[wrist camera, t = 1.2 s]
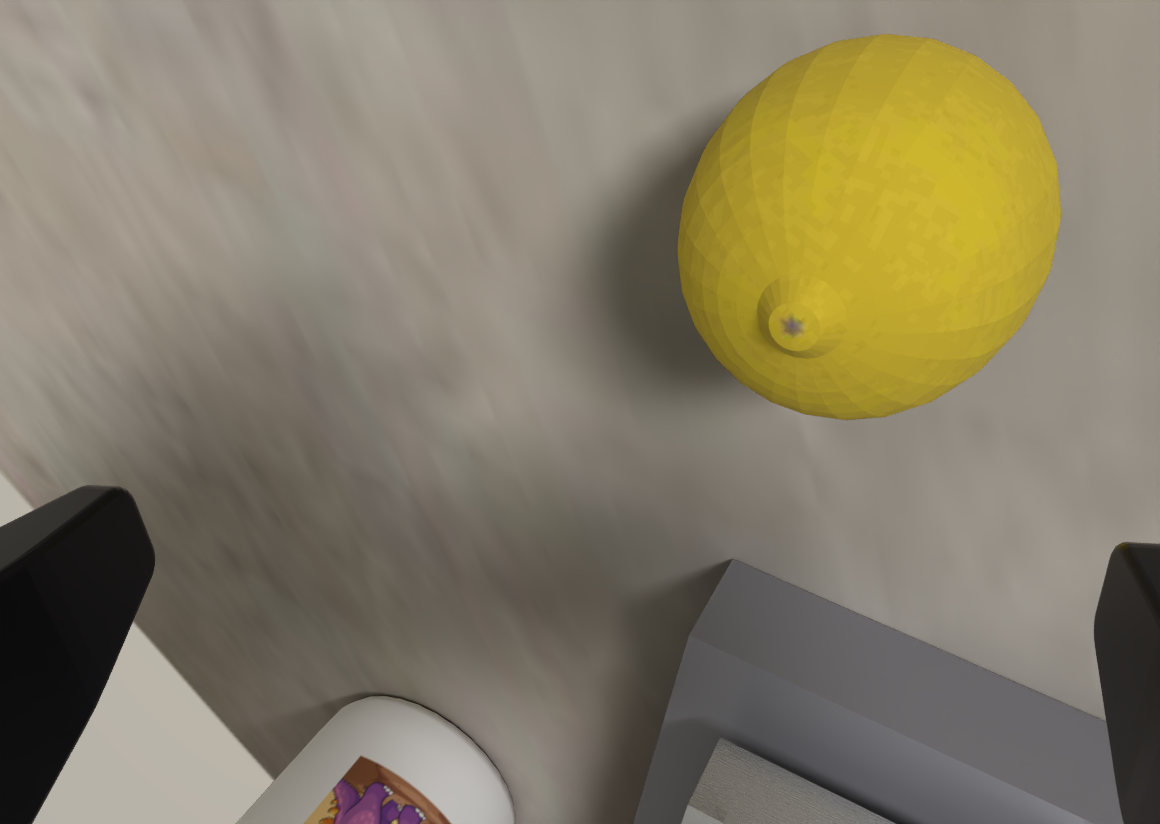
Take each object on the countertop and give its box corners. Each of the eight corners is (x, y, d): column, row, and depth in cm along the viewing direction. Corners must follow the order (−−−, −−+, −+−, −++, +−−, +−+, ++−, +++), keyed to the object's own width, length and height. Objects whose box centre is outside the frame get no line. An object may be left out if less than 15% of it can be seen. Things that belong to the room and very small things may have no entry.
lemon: (1141, 50, 17) (1114, 208, 11) (1000, 332, 20) (919, 575, 14) (823, -45, 19) (644, 48, 13) (740, 232, 22) (566, 413, 16)
